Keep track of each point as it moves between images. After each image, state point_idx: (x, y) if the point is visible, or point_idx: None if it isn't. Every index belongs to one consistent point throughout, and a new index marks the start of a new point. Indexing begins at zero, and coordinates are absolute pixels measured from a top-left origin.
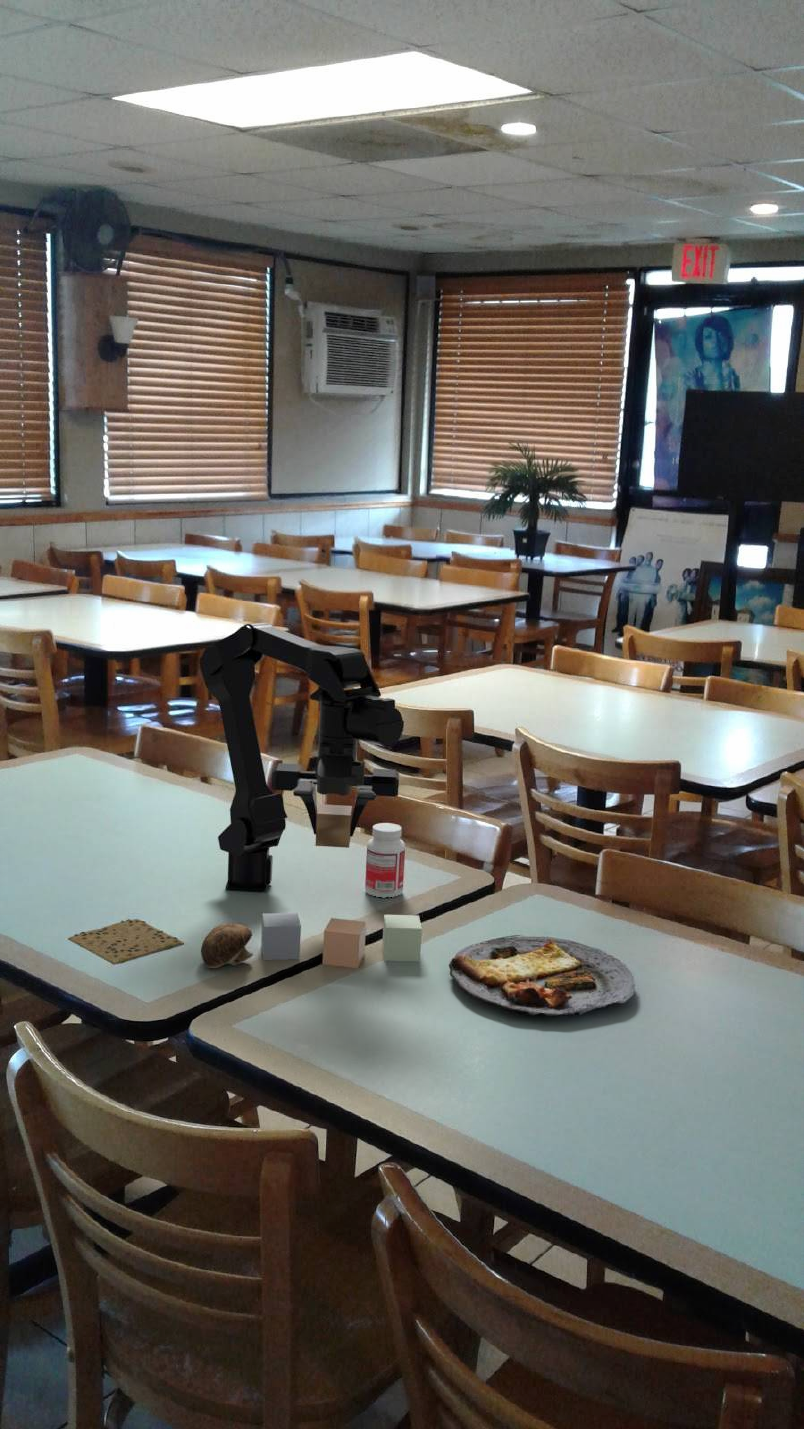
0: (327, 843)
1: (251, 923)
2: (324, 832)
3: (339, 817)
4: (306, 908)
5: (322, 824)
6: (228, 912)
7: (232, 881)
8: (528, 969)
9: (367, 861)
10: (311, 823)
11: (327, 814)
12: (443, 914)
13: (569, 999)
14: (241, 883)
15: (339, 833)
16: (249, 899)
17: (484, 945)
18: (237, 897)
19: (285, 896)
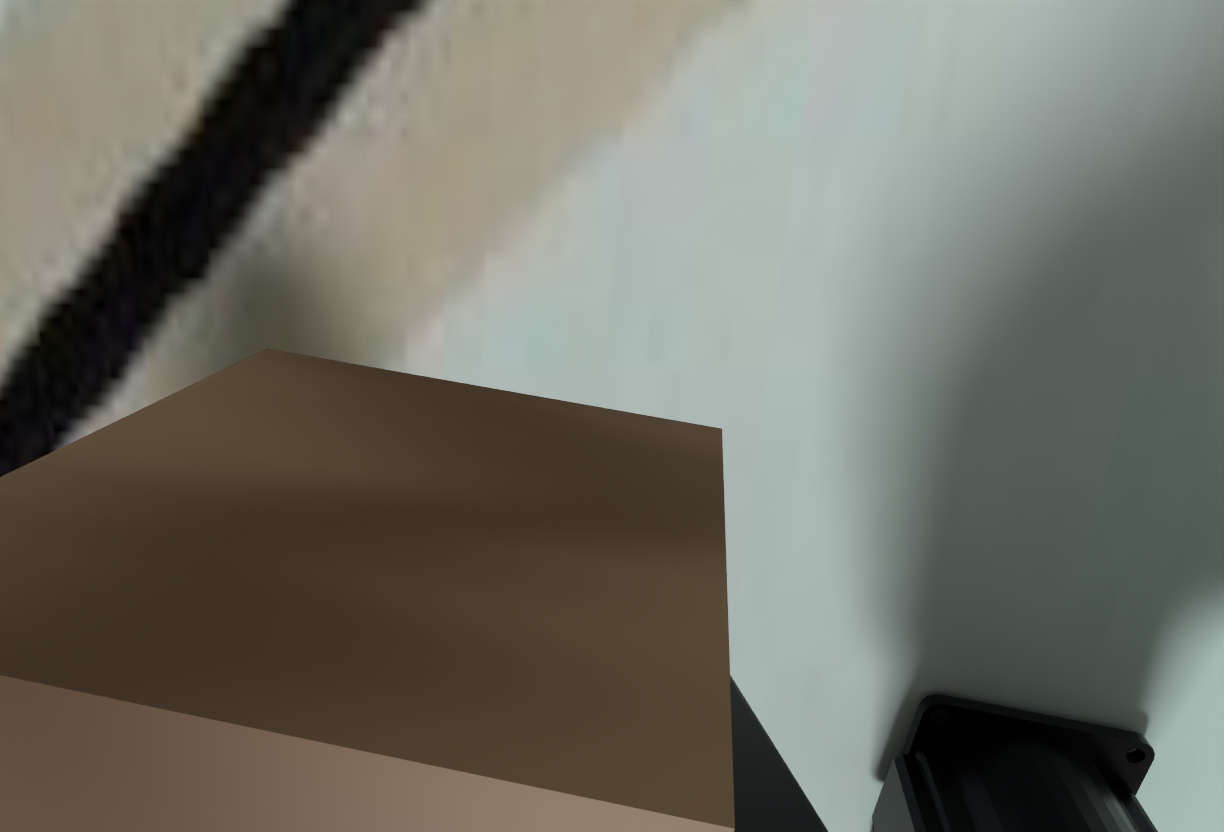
0: (547, 411)
1: (1110, 232)
2: (569, 497)
3: (94, 628)
4: (725, 463)
5: (589, 584)
6: (1216, 417)
7: (1112, 791)
8: None
9: None
10: (793, 778)
11: (397, 745)
12: (4, 358)
13: None
14: (1071, 754)
15: (304, 446)
16: (1034, 604)
17: None
18: (1099, 635)
19: (820, 633)
